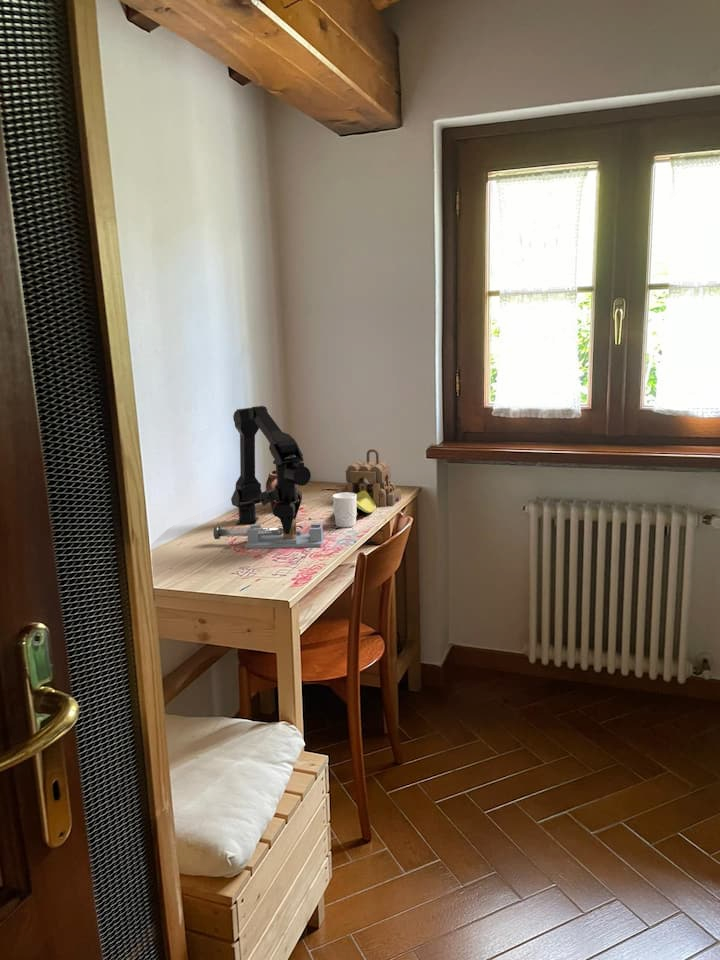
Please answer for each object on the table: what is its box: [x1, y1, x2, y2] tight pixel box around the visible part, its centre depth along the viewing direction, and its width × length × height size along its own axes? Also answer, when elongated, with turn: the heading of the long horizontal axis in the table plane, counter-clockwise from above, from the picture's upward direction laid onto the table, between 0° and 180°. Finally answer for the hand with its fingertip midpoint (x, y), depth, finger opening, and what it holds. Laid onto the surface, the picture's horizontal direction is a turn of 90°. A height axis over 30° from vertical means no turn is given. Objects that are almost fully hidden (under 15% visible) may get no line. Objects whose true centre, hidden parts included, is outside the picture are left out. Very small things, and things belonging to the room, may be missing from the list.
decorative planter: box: [265, 469, 302, 509], centre depth 263 cm, size 20×12×14 cm, turn 168°
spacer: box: [282, 518, 297, 540], centre depth 224 cm, size 7×3×6 cm, turn 176°
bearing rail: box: [244, 522, 325, 549], centre depth 225 cm, size 10×23×5 cm, turn 86°
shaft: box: [213, 525, 283, 540], centre depth 225 cm, size 4×21×4 cm, turn 86°
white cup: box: [332, 492, 358, 528], centre depth 240 cm, size 8×8×10 cm
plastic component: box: [356, 491, 377, 516], centre depth 254 cm, size 20×7×10 cm
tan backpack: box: [335, 448, 402, 508], centre depth 268 cm, size 22×15×19 cm, turn 69°
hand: (289, 529), depth 224 cm, fingers open, 9 cm apart
